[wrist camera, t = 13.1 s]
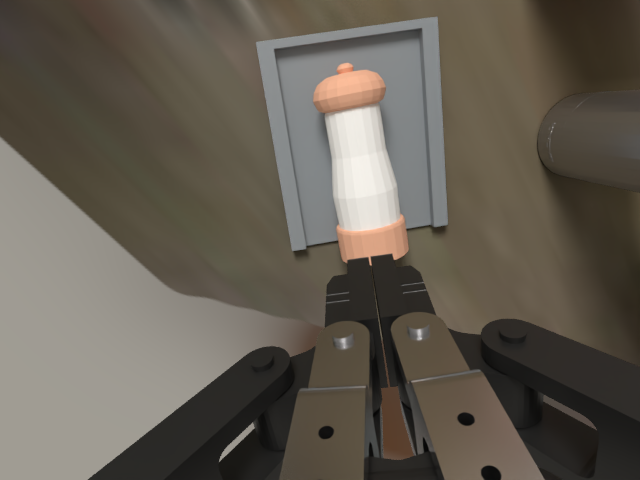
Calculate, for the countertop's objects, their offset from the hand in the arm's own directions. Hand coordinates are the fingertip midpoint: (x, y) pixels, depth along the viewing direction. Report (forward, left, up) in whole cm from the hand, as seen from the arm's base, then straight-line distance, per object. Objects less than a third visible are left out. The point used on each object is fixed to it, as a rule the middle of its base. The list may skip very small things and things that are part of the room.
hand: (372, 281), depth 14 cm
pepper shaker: (-6, +10, -29) cm, 31 cm away
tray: (-6, -2, -33) cm, 33 cm away
